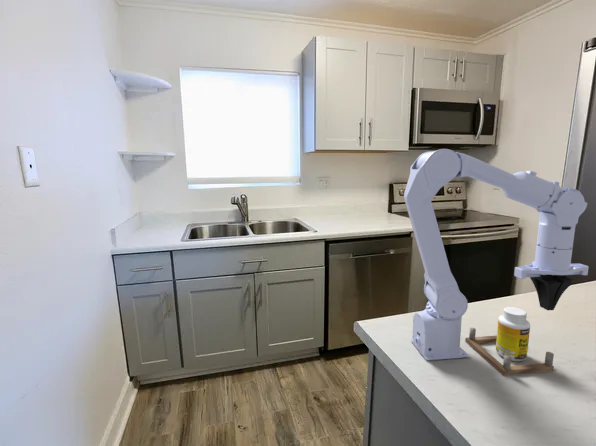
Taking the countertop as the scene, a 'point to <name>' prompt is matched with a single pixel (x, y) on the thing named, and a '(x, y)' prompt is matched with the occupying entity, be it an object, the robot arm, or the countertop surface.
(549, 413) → the countertop surface
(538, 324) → the countertop surface
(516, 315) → the supplement bottle
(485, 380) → the countertop surface
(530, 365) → the peg frame
